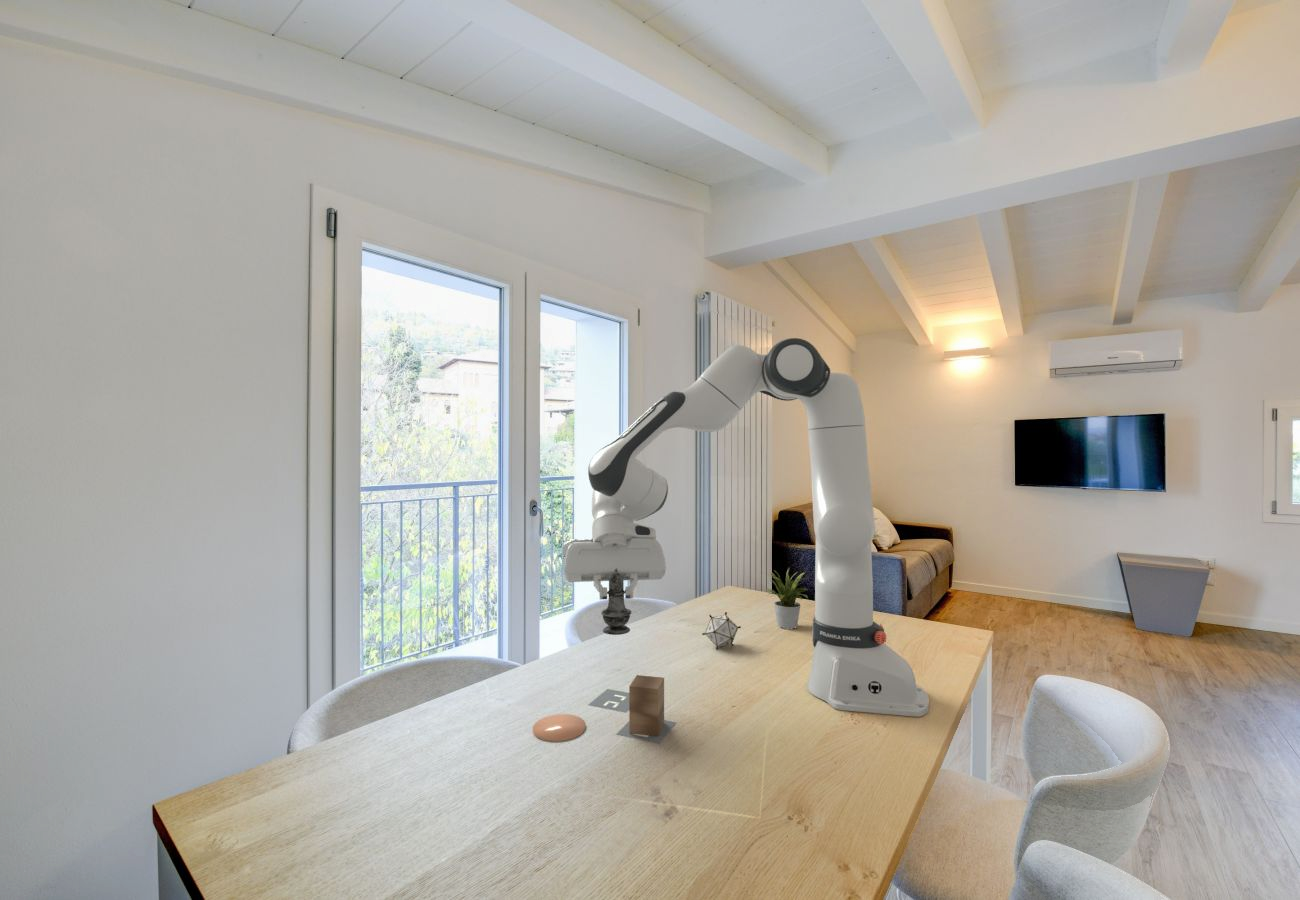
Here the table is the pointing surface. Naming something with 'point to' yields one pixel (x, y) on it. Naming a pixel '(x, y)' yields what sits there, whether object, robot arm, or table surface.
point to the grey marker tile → (612, 700)
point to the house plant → (787, 601)
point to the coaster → (559, 727)
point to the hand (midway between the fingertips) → (616, 597)
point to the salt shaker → (616, 607)
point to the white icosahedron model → (721, 630)
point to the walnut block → (646, 705)
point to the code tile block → (664, 731)
